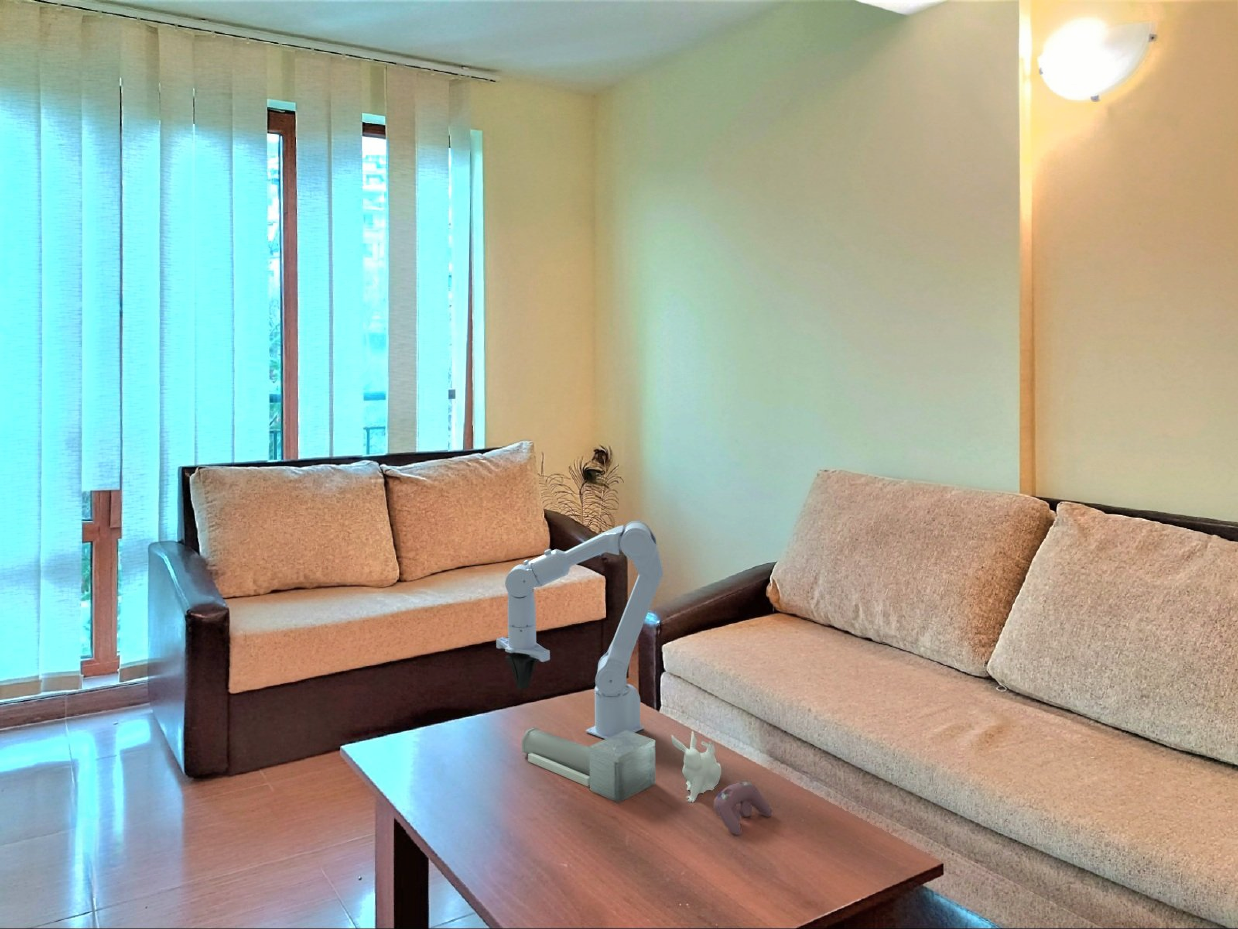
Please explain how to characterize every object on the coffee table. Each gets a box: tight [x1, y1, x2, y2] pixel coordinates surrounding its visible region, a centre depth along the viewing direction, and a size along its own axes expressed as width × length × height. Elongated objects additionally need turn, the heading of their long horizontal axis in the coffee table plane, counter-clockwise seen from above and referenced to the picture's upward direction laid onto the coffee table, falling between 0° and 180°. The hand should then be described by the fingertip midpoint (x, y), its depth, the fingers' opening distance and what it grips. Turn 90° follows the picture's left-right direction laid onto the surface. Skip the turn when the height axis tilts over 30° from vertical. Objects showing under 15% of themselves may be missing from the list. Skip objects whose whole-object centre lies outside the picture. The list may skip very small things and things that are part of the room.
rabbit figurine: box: [671, 730, 722, 803], centre depth 162 cm, size 12×8×10 cm, turn 138°
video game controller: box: [713, 781, 773, 836], centre depth 149 cm, size 10×5×7 cm, turn 135°
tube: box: [521, 726, 590, 776], centre depth 169 cm, size 5×5×25 cm
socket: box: [588, 730, 656, 804], centre depth 161 cm, size 10×7×8 cm
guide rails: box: [527, 753, 590, 787], centre depth 170 cm, size 8×16×1 cm, turn 47°
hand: (523, 687), depth 186 cm, fingers closed
